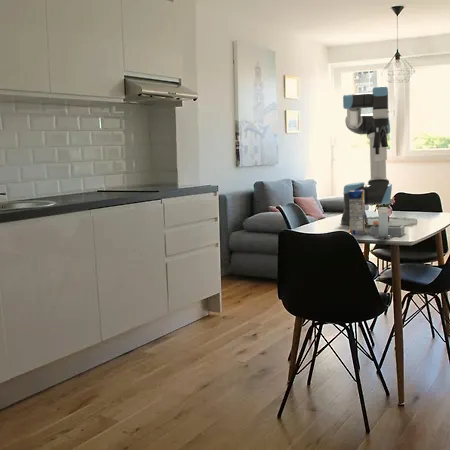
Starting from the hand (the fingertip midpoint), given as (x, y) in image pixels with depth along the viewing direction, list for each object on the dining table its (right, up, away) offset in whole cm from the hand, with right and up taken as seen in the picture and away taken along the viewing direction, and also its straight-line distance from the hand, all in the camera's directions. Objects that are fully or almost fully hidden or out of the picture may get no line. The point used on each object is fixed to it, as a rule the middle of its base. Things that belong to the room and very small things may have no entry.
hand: (380, 160), depth 302 cm
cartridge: (-2, -38, -13) cm, 41 cm away
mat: (-2, -39, -13) cm, 41 cm away
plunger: (-2, -36, -1) cm, 36 cm away
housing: (+2, -37, -3) cm, 38 cm away
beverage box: (-11, -37, +5) cm, 39 cm away
